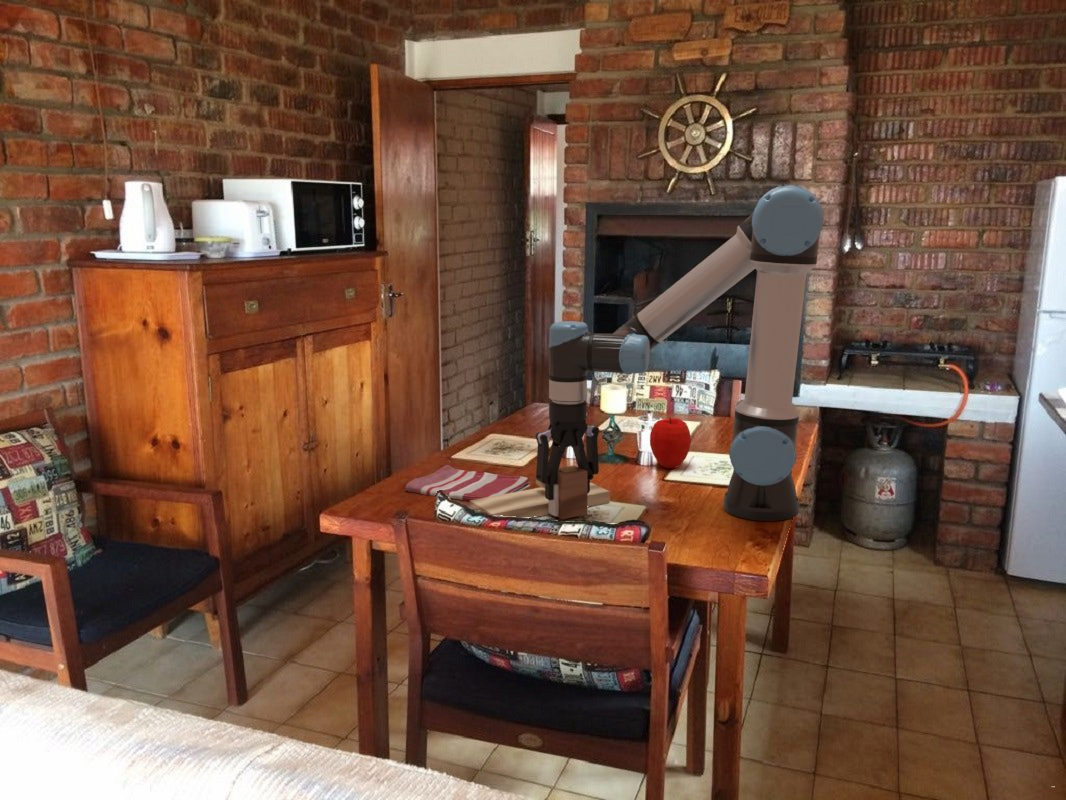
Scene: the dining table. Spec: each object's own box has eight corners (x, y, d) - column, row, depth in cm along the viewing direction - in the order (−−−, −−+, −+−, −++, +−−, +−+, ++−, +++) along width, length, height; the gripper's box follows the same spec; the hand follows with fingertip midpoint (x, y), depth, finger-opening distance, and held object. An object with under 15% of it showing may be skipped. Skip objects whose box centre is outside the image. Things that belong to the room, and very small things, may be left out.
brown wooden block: (587, 514, 182) (587, 470, 180) (561, 519, 179) (561, 474, 178) (552, 495, 194) (551, 454, 192) (527, 500, 191) (527, 458, 189)
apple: (666, 458, 225) (667, 410, 222) (699, 466, 218) (700, 416, 215) (641, 466, 218) (641, 417, 215) (674, 474, 211) (675, 424, 208)
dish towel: (444, 474, 215) (444, 463, 215) (532, 486, 205) (532, 475, 204) (403, 493, 201) (403, 482, 200) (496, 508, 190) (495, 496, 190)
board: (609, 502, 192) (609, 491, 191) (492, 526, 178) (492, 514, 177) (584, 490, 200) (584, 479, 200) (470, 511, 187) (469, 500, 186)
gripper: (597, 391, 186) (596, 499, 191) (516, 402, 177) (517, 514, 182) (618, 398, 180) (616, 509, 184) (535, 409, 170) (536, 525, 175)
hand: (567, 511), depth 183 cm, fingers closed on brown wooden block, 6 cm apart
